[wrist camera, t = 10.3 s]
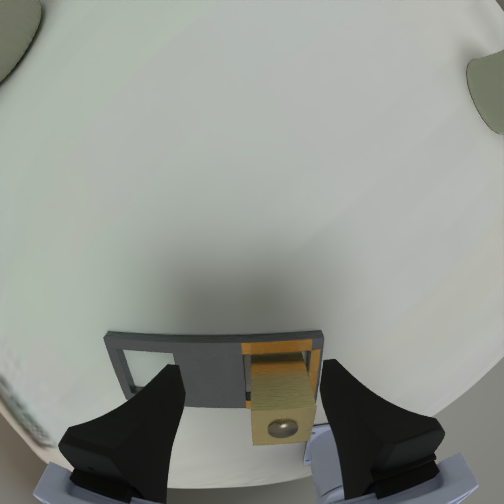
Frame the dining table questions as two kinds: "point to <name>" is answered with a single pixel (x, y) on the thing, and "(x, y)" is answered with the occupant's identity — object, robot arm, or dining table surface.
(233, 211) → the dining table surface
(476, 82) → the can
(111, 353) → the grey frame plate
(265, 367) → the block
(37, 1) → the canister
